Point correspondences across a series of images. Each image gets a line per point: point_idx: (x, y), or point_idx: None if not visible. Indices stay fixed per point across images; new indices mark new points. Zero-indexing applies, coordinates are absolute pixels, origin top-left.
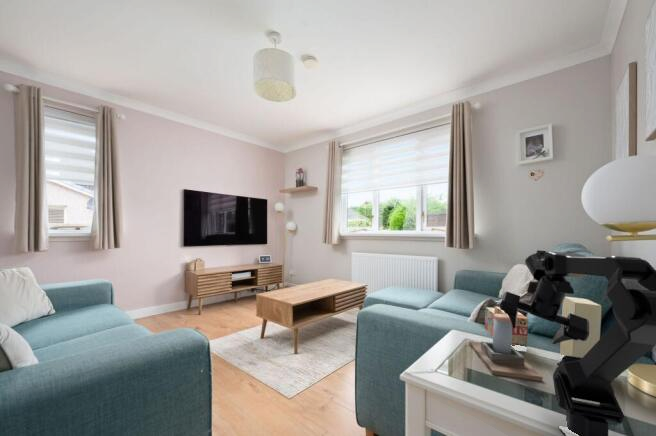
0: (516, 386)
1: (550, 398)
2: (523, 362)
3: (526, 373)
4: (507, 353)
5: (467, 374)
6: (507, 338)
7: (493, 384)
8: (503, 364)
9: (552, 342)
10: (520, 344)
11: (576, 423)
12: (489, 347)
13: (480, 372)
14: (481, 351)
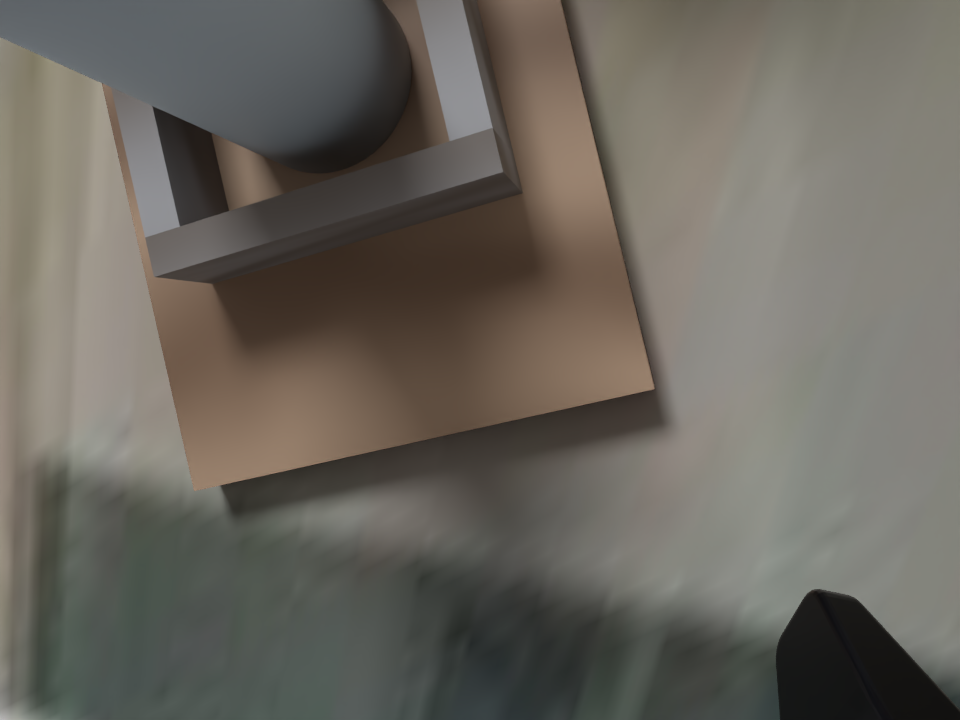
0: (384, 621)
1: (630, 716)
2: (505, 188)
3: (502, 391)
4: (328, 135)
5: (35, 591)
6: (203, 76)
7: (208, 674)
8: (312, 287)
9: (790, 644)
10: None
11: None
12: None
13: (131, 496)
14: None
